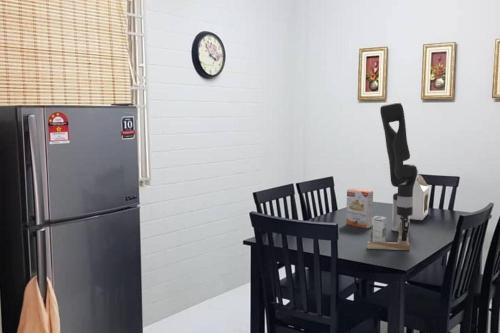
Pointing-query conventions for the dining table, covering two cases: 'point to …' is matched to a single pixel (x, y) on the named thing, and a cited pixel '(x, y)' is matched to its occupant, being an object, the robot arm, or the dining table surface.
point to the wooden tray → (391, 244)
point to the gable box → (420, 198)
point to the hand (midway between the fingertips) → (403, 239)
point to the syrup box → (378, 229)
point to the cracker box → (359, 208)
